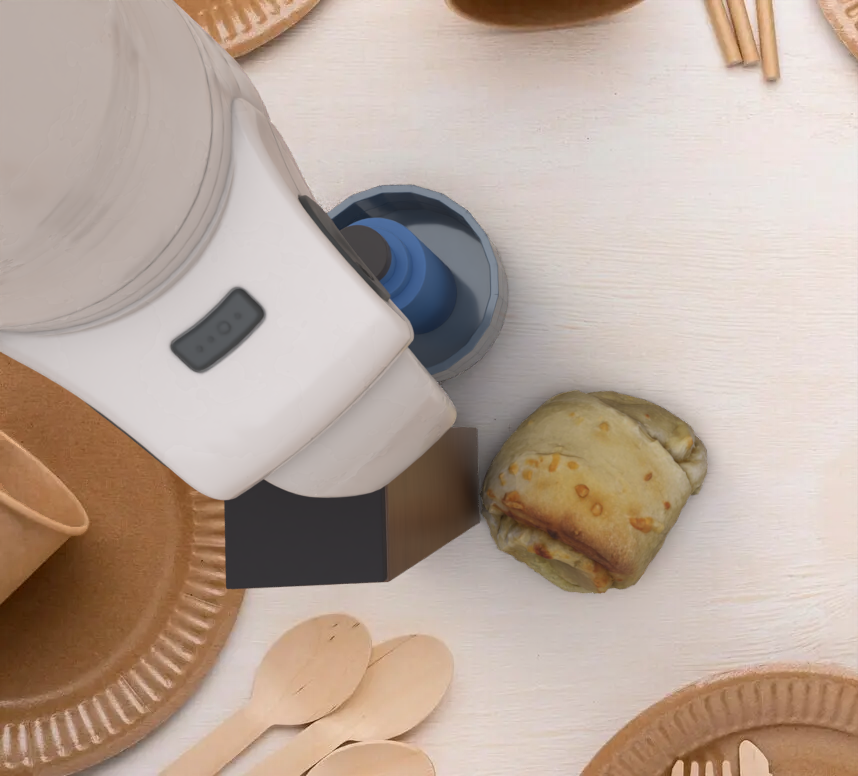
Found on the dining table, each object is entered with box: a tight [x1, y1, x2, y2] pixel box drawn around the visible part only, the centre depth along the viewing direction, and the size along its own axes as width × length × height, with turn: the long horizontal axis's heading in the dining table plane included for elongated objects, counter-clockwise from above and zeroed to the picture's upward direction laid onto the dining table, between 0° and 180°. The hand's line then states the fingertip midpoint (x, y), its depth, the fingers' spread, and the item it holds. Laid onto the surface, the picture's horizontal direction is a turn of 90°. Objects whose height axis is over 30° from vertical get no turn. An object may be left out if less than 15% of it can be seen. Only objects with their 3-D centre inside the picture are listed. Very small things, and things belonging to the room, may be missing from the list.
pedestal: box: [242, 426, 481, 590], centre depth 53 cm, size 6×6×26 cm
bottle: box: [340, 218, 457, 334], centre depth 58 cm, size 5×5×14 cm
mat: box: [223, 479, 387, 590], centre depth 40 cm, size 6×6×1 cm
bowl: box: [326, 184, 509, 383], centre depth 64 cm, size 11×11×6 cm
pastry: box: [479, 389, 709, 595], centre depth 63 cm, size 14×12×8 cm
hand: (265, 253), depth 39 cm, fingers open, 8 cm apart
